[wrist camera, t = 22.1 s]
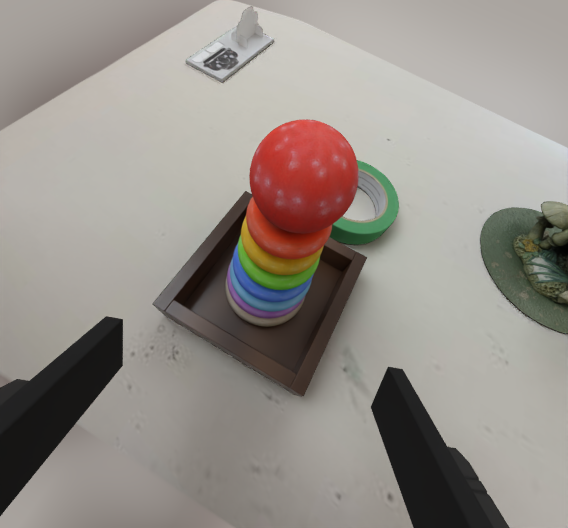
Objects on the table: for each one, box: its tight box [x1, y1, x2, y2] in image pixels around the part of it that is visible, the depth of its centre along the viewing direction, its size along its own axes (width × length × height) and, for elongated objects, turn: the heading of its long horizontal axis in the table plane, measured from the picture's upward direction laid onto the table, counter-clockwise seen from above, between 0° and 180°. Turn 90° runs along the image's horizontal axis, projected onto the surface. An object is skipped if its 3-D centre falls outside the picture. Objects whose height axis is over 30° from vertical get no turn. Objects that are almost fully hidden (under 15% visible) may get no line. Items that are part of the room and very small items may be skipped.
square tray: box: [153, 191, 367, 396], centre depth 26 cm, size 14×14×4 cm
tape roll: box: [329, 160, 399, 245], centre depth 33 cm, size 11×11×3 cm
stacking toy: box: [225, 120, 359, 327], centre depth 19 cm, size 8×8×19 cm
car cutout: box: [186, 6, 274, 82], centre depth 42 cm, size 15×7×4 cm, turn 150°
